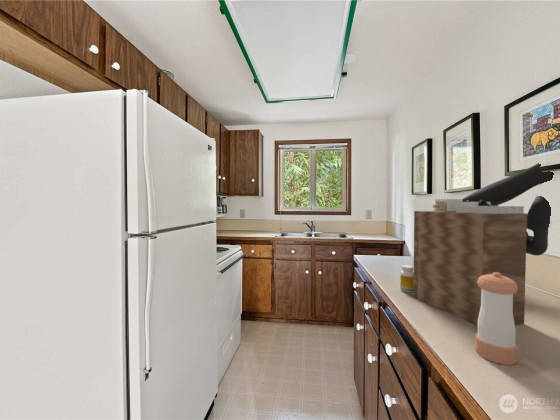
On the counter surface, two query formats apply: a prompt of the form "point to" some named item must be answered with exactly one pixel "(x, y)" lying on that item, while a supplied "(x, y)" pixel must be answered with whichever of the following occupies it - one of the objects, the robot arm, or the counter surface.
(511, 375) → the counter surface
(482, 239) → the walnut shelf
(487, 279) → the pepper shaker
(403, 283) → the supplement bottle
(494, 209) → the socket block
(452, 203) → the plug
